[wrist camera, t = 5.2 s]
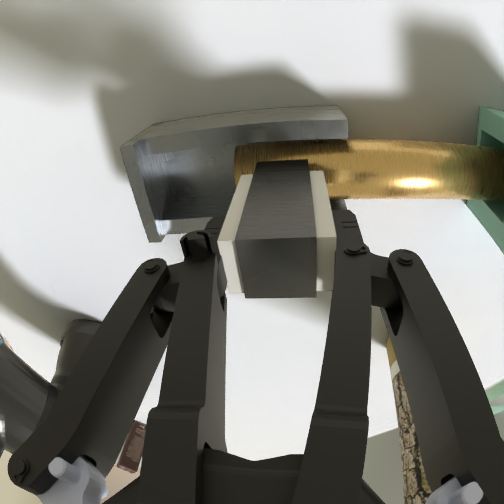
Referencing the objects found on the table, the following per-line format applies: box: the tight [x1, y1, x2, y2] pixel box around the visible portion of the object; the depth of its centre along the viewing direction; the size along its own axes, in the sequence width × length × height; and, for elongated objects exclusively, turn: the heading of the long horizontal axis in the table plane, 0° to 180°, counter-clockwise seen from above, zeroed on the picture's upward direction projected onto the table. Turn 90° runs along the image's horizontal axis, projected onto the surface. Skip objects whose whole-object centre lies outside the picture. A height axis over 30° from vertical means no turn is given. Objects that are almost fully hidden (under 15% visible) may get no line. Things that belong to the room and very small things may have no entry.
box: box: [117, 421, 146, 473], centre depth 58 cm, size 6×4×12 cm
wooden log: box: [386, 337, 432, 504], centre depth 24 cm, size 7×7×25 cm
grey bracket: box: [120, 106, 348, 243], centre depth 22 cm, size 14×7×6 cm, turn 97°
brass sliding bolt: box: [234, 139, 504, 298], centre depth 16 cm, size 20×4×12 cm, turn 97°
